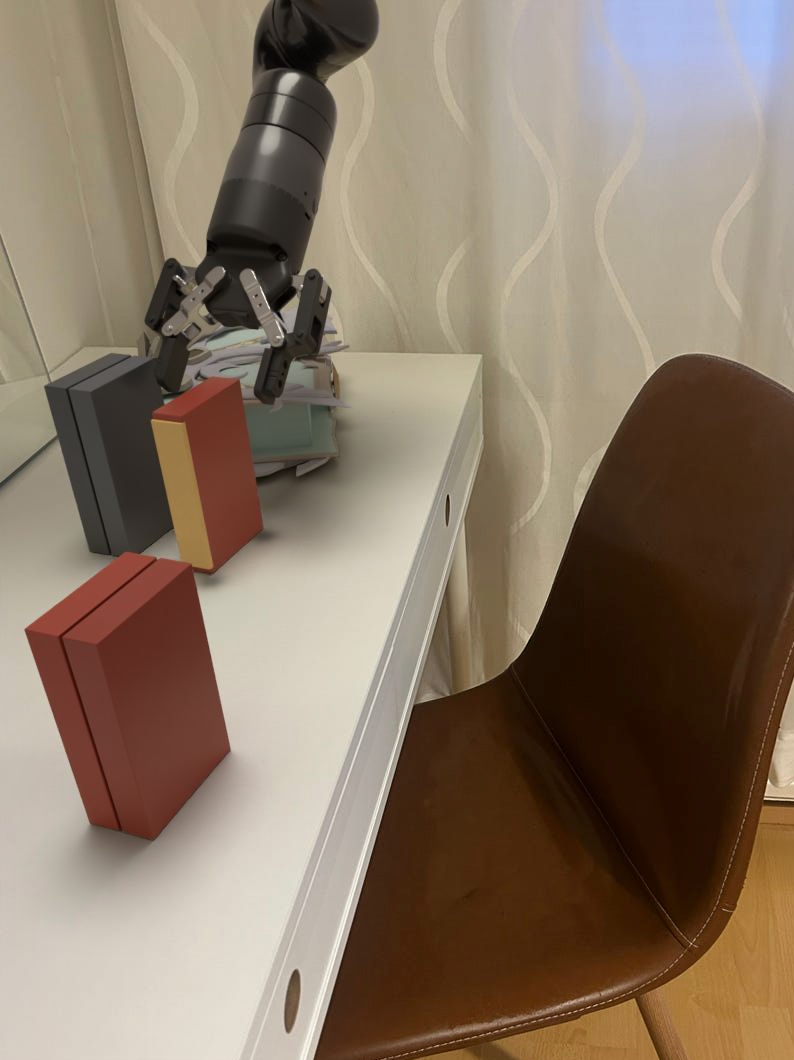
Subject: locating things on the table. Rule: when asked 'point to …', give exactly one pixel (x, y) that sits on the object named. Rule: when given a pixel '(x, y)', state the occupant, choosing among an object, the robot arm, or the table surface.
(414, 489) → the table surface
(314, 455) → the ornate book
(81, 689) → the red books
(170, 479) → the red book
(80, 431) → the grey books
